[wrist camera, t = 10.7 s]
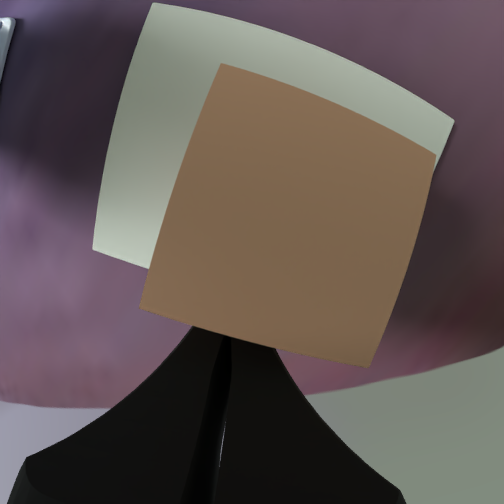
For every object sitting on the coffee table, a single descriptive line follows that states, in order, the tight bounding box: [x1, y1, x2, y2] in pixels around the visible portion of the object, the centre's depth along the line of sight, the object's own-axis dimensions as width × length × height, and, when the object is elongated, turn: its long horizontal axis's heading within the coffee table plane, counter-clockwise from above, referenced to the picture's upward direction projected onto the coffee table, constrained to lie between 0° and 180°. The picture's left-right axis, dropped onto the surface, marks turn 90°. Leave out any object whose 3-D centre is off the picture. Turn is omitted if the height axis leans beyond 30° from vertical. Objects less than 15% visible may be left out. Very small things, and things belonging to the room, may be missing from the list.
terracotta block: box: [139, 63, 436, 368], centre depth 9 cm, size 4×4×8 cm
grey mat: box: [93, 3, 455, 269], centre depth 14 cm, size 14×12×1 cm
